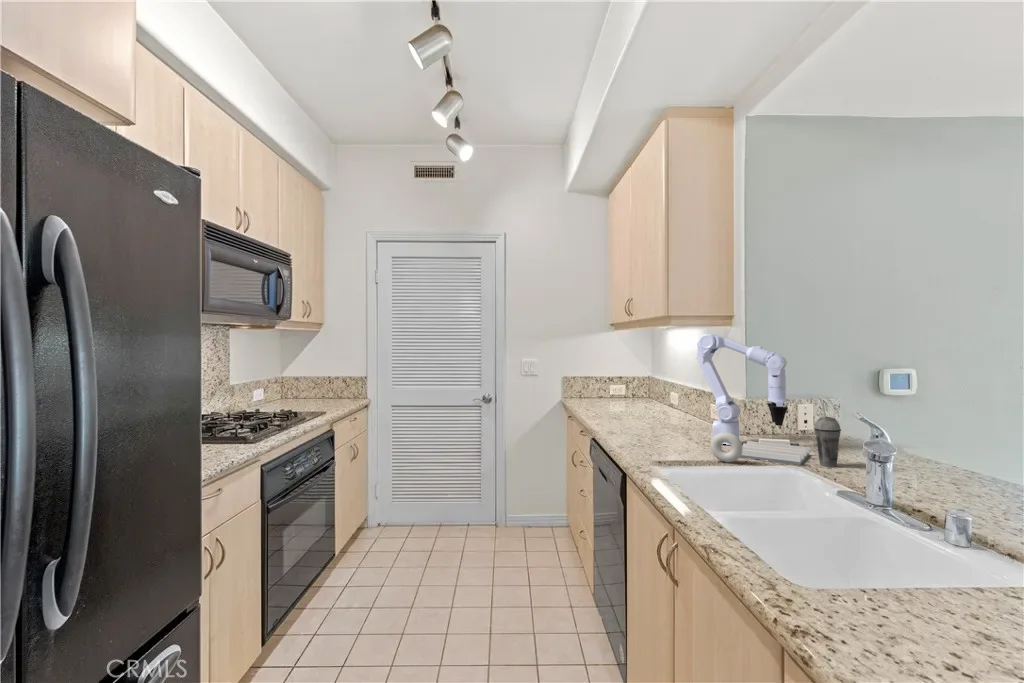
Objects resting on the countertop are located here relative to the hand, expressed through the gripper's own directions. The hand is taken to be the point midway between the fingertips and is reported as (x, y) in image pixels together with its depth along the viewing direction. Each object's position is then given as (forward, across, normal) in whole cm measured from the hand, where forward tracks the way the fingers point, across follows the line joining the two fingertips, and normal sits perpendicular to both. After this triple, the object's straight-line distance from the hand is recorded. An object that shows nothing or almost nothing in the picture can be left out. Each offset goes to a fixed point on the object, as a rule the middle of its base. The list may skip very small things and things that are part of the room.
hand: (777, 423), depth 182 cm
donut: (+10, -28, +19) cm, 35 cm away
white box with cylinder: (+10, 0, -1) cm, 10 cm away
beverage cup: (+9, -23, -11) cm, 27 cm away
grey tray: (+9, -14, +3) cm, 17 cm away
